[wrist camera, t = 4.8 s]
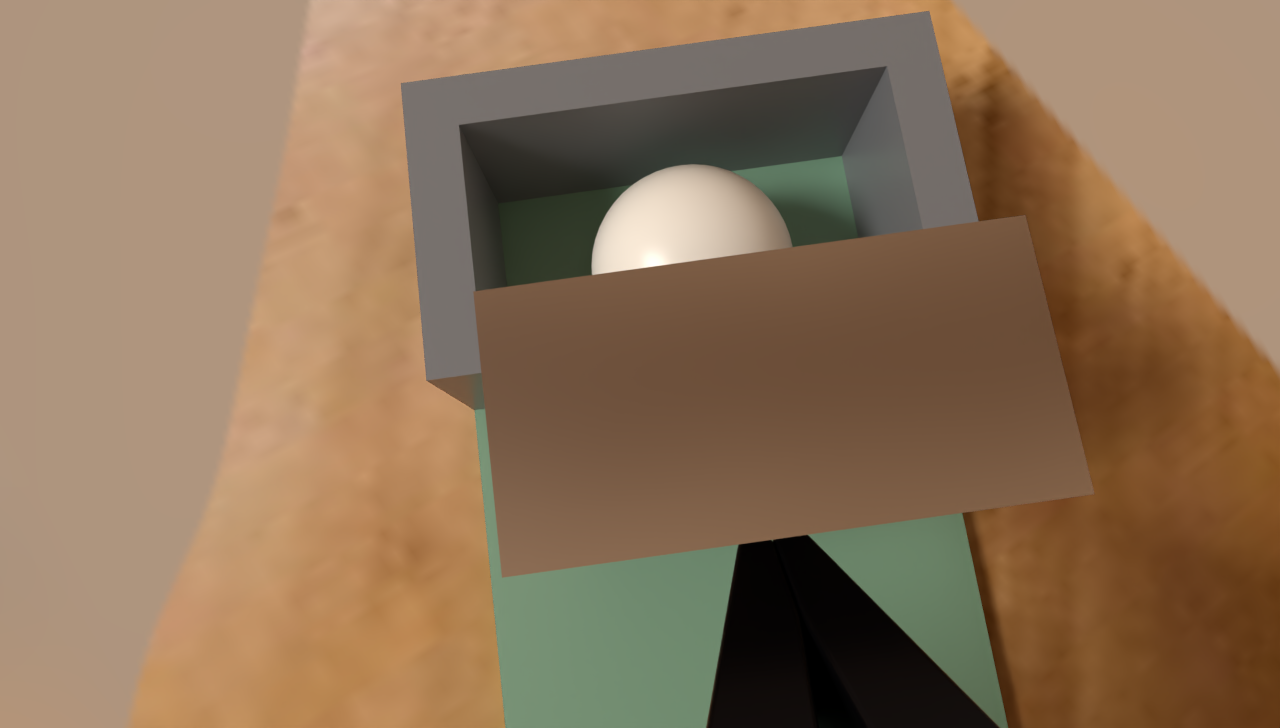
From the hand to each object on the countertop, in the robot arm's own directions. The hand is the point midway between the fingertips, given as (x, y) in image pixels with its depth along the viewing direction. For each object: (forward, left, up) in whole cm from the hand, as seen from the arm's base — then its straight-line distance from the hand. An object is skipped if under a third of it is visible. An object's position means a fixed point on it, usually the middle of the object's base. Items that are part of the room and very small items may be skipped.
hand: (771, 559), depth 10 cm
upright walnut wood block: (+2, 0, -6) cm, 7 cm away
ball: (+5, 0, -5) cm, 7 cm away
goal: (+6, 0, -7) cm, 10 cm away
